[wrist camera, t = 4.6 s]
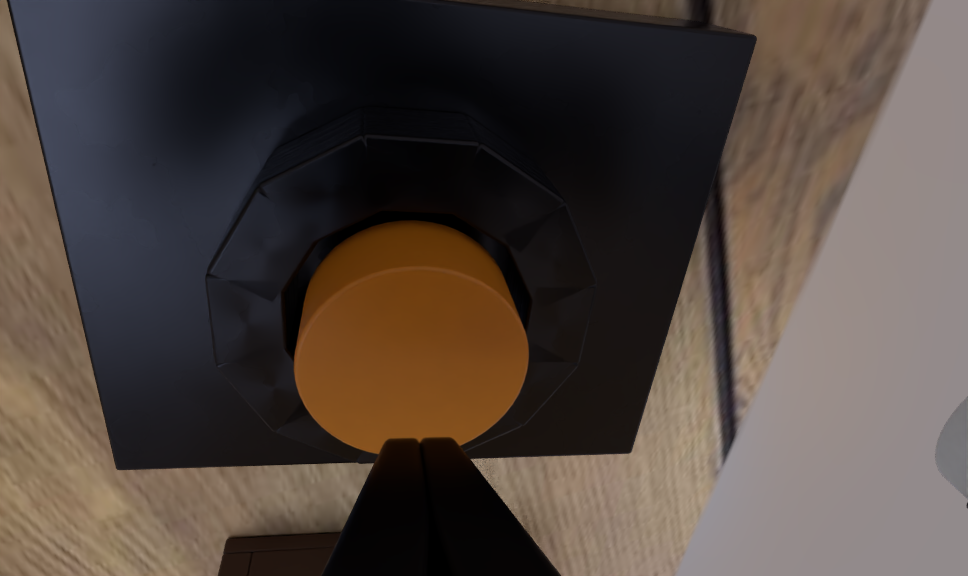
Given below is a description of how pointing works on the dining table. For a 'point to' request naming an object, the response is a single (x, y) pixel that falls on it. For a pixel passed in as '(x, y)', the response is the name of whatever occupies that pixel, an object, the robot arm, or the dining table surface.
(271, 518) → the dining table surface
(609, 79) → the base
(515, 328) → the button
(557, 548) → the dining table surface
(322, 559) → the holder
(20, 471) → the dining table surface
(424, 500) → the robot arm
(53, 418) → the dining table surface
